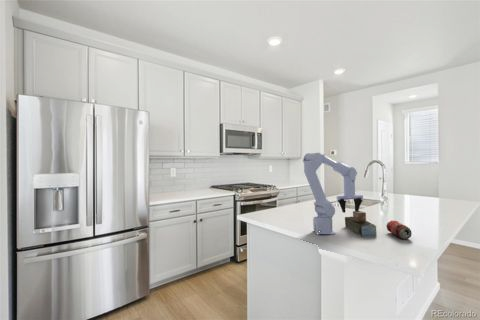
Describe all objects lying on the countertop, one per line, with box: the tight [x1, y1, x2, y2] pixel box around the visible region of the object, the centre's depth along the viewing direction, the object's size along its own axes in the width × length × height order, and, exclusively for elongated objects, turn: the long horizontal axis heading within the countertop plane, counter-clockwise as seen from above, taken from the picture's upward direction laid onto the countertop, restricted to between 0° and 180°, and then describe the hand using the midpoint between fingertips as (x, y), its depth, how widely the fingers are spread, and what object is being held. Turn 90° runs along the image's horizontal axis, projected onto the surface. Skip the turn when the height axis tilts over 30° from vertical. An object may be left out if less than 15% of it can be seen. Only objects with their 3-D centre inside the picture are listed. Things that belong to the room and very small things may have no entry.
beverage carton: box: [344, 216, 378, 238], centre depth 127 cm, size 8×19×7 cm, turn 0°
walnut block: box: [352, 210, 367, 222], centre depth 127 cm, size 4×4×4 cm
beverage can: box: [385, 220, 413, 240], centre depth 117 cm, size 7×12×7 cm, turn 171°
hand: (350, 212), depth 133 cm, fingers open, 7 cm apart
